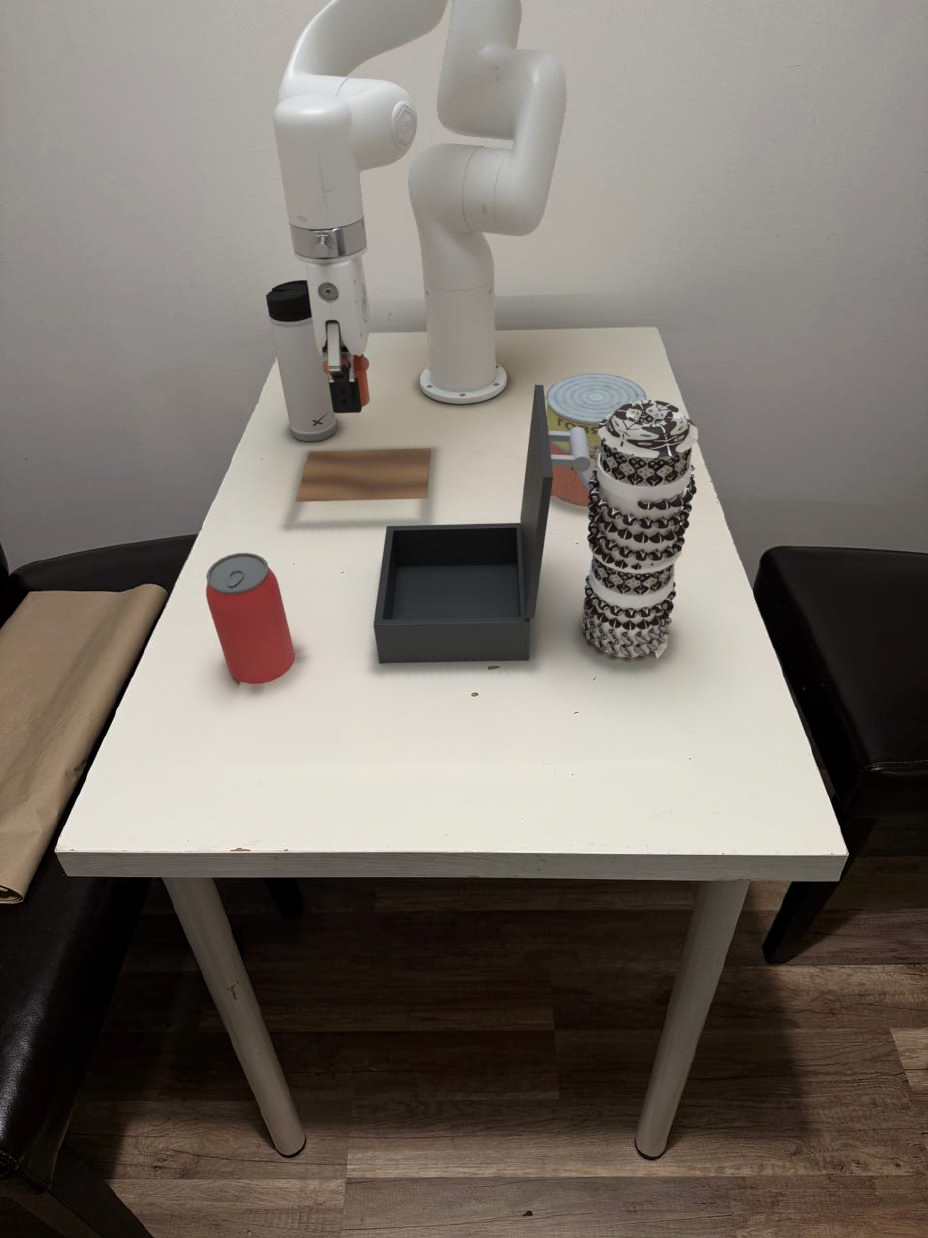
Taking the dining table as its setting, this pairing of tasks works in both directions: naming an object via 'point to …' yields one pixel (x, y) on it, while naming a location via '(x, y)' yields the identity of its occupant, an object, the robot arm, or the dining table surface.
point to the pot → (357, 376)
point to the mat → (365, 475)
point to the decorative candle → (637, 526)
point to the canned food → (583, 424)
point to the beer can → (249, 618)
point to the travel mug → (300, 362)
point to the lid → (543, 489)
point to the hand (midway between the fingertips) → (350, 397)
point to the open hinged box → (452, 594)
